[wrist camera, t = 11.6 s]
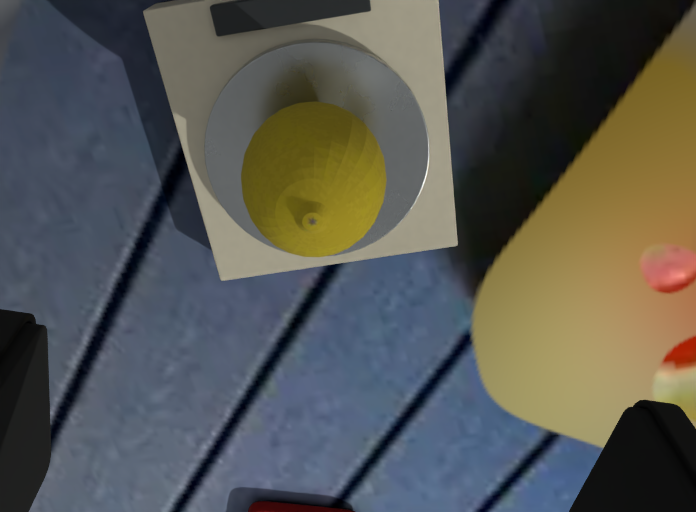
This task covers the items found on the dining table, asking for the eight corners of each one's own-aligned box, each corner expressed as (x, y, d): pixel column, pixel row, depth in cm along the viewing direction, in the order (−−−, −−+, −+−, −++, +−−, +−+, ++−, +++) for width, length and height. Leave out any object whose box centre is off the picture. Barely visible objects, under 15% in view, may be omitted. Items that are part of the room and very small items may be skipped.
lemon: (403, 127, 28) (429, 202, 21) (331, 222, 30) (334, 319, 23) (296, 53, 26) (286, 106, 19) (228, 159, 28) (196, 242, 21)
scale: (154, 3, 28) (137, 13, 25) (427, -43, 27) (438, -38, 25) (226, 260, 34) (218, 289, 32) (450, 226, 34) (460, 253, 31)
